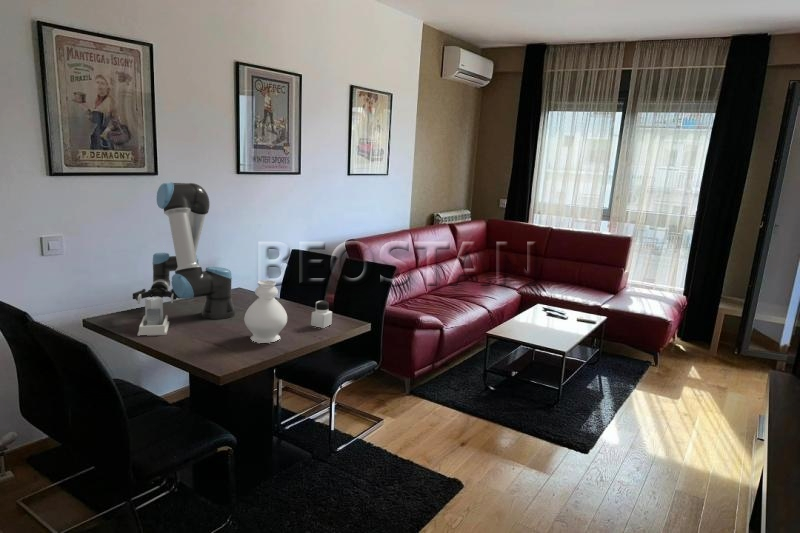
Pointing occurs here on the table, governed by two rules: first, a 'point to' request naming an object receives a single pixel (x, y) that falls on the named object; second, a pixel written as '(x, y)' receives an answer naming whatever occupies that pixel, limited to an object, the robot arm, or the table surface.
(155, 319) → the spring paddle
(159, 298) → the skincare box
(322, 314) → the medicine bottle
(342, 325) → the table surface
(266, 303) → the decorative vase
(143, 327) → the white rectangular tray
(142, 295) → the robot arm
